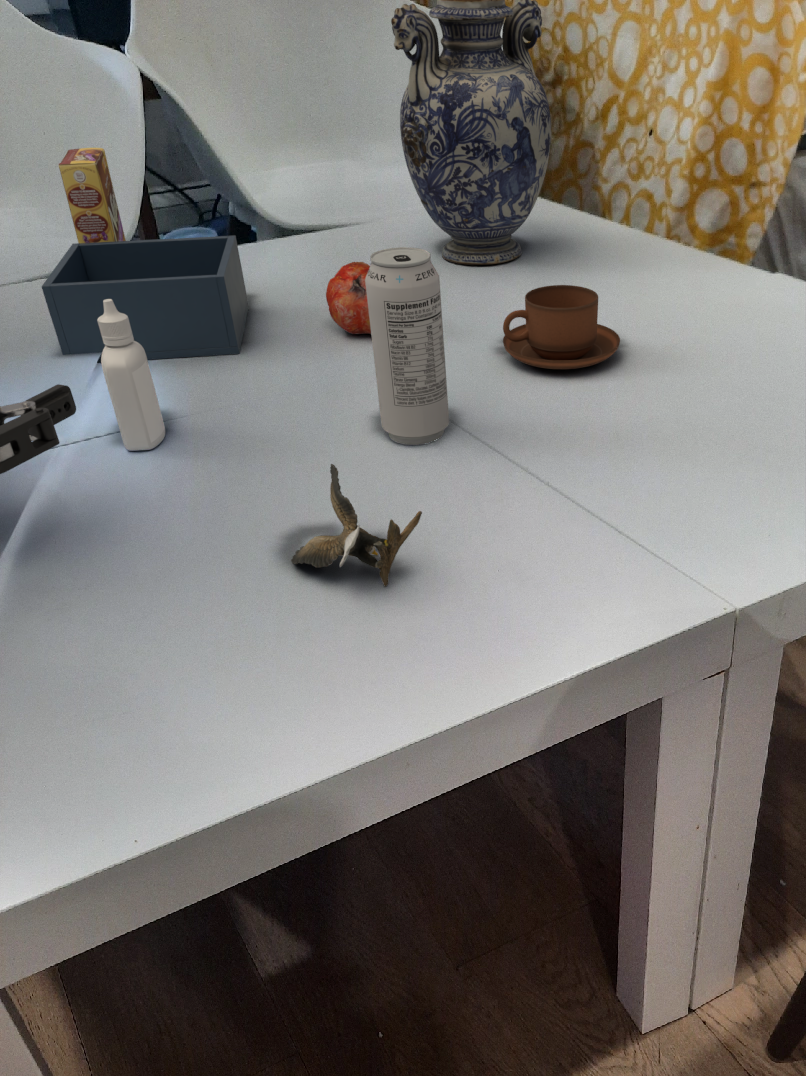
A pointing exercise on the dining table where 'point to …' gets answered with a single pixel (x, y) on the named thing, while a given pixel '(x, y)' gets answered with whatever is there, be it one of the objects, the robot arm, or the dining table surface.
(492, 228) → the decorative vase
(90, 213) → the candy box
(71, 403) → the robot arm
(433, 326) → the energy drink can
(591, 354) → the cup and saucer
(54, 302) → the bin
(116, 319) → the eye dropper bottle
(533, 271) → the dining table surface
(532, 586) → the dining table surface
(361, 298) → the pomegranate
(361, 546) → the eagle figurine
